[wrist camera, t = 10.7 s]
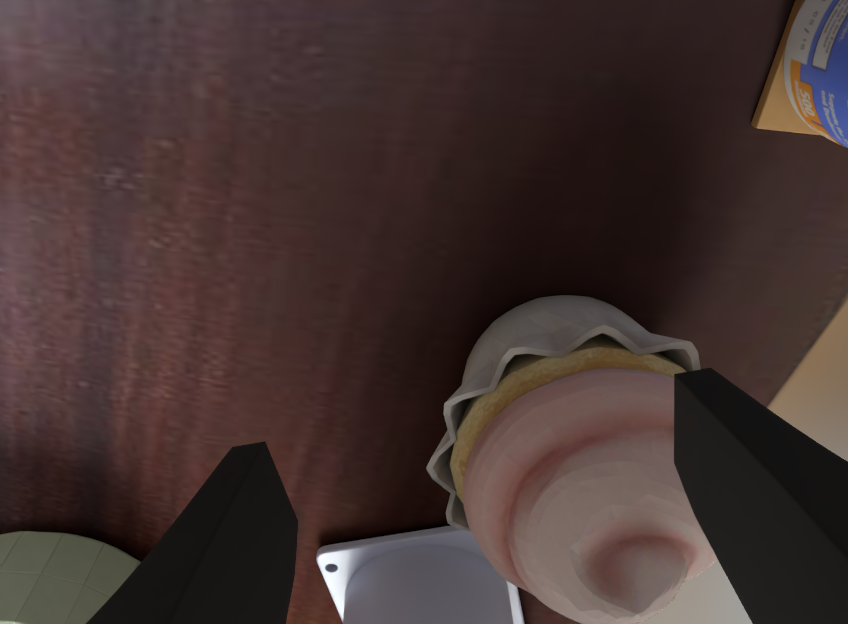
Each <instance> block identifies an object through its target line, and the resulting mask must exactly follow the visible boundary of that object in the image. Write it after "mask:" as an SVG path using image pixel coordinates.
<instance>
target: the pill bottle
mask: <svg viewBox="0 0 848 624" xmlns="http://www.w3.org/2000/svg"><path fill="white" fill-rule="evenodd" d="M784 82H785V86H786V91H787V94H788V97H789V100H790V102H791V104H792V106H793V108H794V109H795V111H796V113H797V114H798V115H799V116H800V118H801V119H802V120H803V121H804V122H805V123H806V124H807V125H808V126H809V127H810V128H812V129H813V130H815V131H816V132H817V133H819V134H821V135H823V136H824V137H826V138H828V139H829V140H831V141H833V142H835V143H837V144H839V145H841V146H843V147H846V148H848V0H805V2H804V3H803V5H802V7H801V9H800V10H799V12H798V14H797V16H796V18H795V21H794V23H793V25H792V28H791V31H790V33H789V37H788V40H787V44H786V48H785V54H784Z"/></svg>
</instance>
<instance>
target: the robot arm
mask: <svg viewBox="0 0 848 624" xmlns="http://www.w3.org/2000/svg"><path fill="white" fill-rule="evenodd" d="M674 464H675V467H676V469H677V472H678V475H679V477H680V480H681V483H682V485H683V488H684V490H685V493H686V495H687V498H688V500H689V503H690V505H691V508H692V510H693V513H694V515H695V517H696V519H697V521H698V523H699V525H700V527H701V529H702V531H703V533H704V534H705V536H706V538H707V540H708V542H709V544H710V546H711V547H712V549H713V551H714V553H715V555H716V557H717V559H718V560H719V562H720V564H721V566H722V568H723V570H724V571H725V573H726V575H727V577H728V579H729V581H730V582H731V584H732V586H733V588H734V590H735V592H736V594H737V595H738V597H739V599H740V601H741V603H742V605H743V606H744V608H745V610H746V612H747V614H748V616H749V617H750V619H751V621H752V623H753V624H848V462H847V461H846V460H844V459H842V458H841V457H839V456H837V455H836V454H834V453H833V452H831V451H830V450H828V449H826V448H825V447H823V446H822V445H820V444H819V443H817V442H816V441H814V440H813V439H811V438H809V437H808V436H807V435H805V434H804V433H802V432H801V431H799V430H797V429H796V428H795V427H793V426H792V425H790V424H789V423H787V422H786V421H784V420H783V419H782V418H780V417H779V416H777V415H776V414H774V413H773V412H772V411H770V410H769V409H767V408H766V407H765V406H763V405H762V404H760V403H759V402H758V401H756V400H755V399H753V398H752V397H751V396H749V395H748V394H746V393H745V392H744V391H742V390H741V389H740V388H738V387H737V386H735V385H734V384H733V383H731V382H730V381H728V380H727V379H726V378H724V377H723V376H722V375H720V374H719V373H717V372H716V371H714V370H713V369H712V368H707V369H701V370H695V371H689V372H683V373H677V374H674ZM297 529H298V520H297V518H296V515H295V513H294V510H293V508H292V505H291V503H290V501H289V498H288V496H287V493H286V491H285V488H284V486H283V484H282V481H281V479H280V476H279V474H278V471H277V469H276V467H275V464H274V462H273V459H272V457H271V454H270V452H269V450H268V447H267V445H266V442H260V443H254V444H248V445H242V446H236V447H232V448H231V450H230V451H229V452H228V453H227V454H226V456H225V457H224V458H223V459H222V461H221V462H220V463H219V465H218V466H217V467H216V469H215V470H214V471H213V473H212V474H211V475H210V476H209V478H208V479H207V480H206V482H205V483H204V484H203V486H202V487H201V488H200V490H199V491H198V492H197V494H196V495H195V496H194V497H193V499H192V500H191V501H190V503H189V504H188V505H187V506H186V508H185V509H184V510H183V512H182V513H181V514H180V515H179V517H178V518H177V519H176V520H175V522H174V523H173V524H172V526H171V527H170V528H169V529H168V531H167V532H166V533H165V534H164V536H163V537H162V538H161V539H160V541H159V542H158V543H157V544H156V545H155V547H154V548H153V549H152V550H151V551H150V552H149V554H148V555H147V556H146V557H145V558H144V559H143V561H142V562H141V563H140V564H139V565H138V566H137V568H136V569H135V570H134V571H133V572H132V573H131V575H130V576H129V577H128V578H127V579H126V580H125V582H124V583H123V584H122V585H121V586H120V587H119V589H118V590H117V591H116V592H115V593H114V594H113V595H112V596H111V597H110V598H109V600H108V601H107V602H106V603H105V604H104V605H103V606H102V607H101V608H100V609H99V610H98V611H97V612H96V613H95V614H94V616H93V617H92V618H91V619H90V620H89V621H88V622H87V623H86V624H286V619H287V613H288V608H289V603H290V597H291V592H292V587H293V581H294V575H295V562H296V549H297ZM316 559H317V563H318V565H319V568H320V570H321V572H322V575H323V577H324V579H325V582H326V584H327V586H328V589H329V591H330V593H331V596H332V598H333V601H334V603H335V605H336V608H337V610H338V612H339V615H340V617H341V619H342V622H343V624H525V623H524V618H523V613H522V608H521V603H520V598H519V592H518V587H517V586H515V585H513V584H511V583H510V582H509V581H507V580H506V579H504V578H503V577H502V576H500V575H499V574H498V573H497V572H496V570H495V569H494V567H493V566H492V565H491V563H490V562H489V561H488V559H487V558H486V556H485V555H484V554H483V552H482V551H481V549H480V547H479V545H478V543H477V541H476V539H475V537H474V535H473V533H472V532H471V531H466V530H461V529H458V528H456V527H454V526H452V525H451V526H444V527H438V528H432V529H425V530H419V531H413V532H407V533H400V534H394V535H388V536H381V537H375V538H369V539H362V540H356V541H350V542H344V543H337V544H331V545H325V546H322V547H321V548H319V549H318V551H317V557H316Z"/></svg>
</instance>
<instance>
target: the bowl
mask: <svg viewBox="0 0 848 624" xmlns="http://www.w3.org/2000/svg"><path fill="white" fill-rule="evenodd" d="M140 563H141V562H140V561H138V560H137V559H135V558H133V557H132V556H130V555H129V554H127V553H125V552H123V551H121V550H120V549H118V548H116V547H113V546H111V545H108V544H106V543H104V542H101V541H98V540H95V539H91V538H88V537H83V536H79V535H74V534H68V533H60V532H35V531H18V532H12V533H6V534H0V624H86V623H87V622H88V621H89V620H90V619H91V618H92V617H93V616H94V614H95V613H96V612H97V611H98V610H99V609H100V608H101V607H102V606H103V605H104V604H105V603H106V602H107V601H108V600H109V598H110V597H111V596H112V595H113V594H114V593H115V592H116V591H117V590H118V589H119V587H120V586H121V585H122V584H123V583H124V582H125V580H126V579H127V578H128V577H129V576H130V575H131V573H132V572H133V571H134V570H135V569H136V568H137V566H138V565H139V564H140Z"/></svg>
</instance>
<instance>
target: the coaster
mask: <svg viewBox="0 0 848 624" xmlns="http://www.w3.org/2000/svg"><path fill="white" fill-rule="evenodd" d="M804 2H805V0H795V2H794V5H793V8H792V10H791V13H790V16H789V19H788V22H787V24H786V27H785V30H784V33H783V36H782V38H781V41H780V44H779V47H778V50H777V52H776V55H775V58H774V61H773V64H772V66H771V69H770V72H769V75H768V78H767V80H766V83H765V86H764V89H763V92H762V94H761V97H760V100H759V103H758V106H757V108H756V111H755V114H754V117H753V120H752V122H751V125H752V126H754V127H755V128H757V129H767V130H776V131H786V132H795V133H804V134H814V135H821V134H819V133H817V132H816V131H815V130H813V129H812V128H810V127H809V126H808V125H807V124H806V123H805V122H804V121H803V120H802V119H801V118H800V116H799V115H798V114H797V113H796V111H795V109H794V108H793V106H792V104H791V102H790V100H789V97H788V94H787V91H786V86H785V82H784V54H785V48H786V44H787V40H788V37H789V33H790V31H791V28H792V25H793V23H794V21H795V18H796V16H797V14H798V12H799V10H800V9H801V7H802V5H803V3H804Z"/></svg>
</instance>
